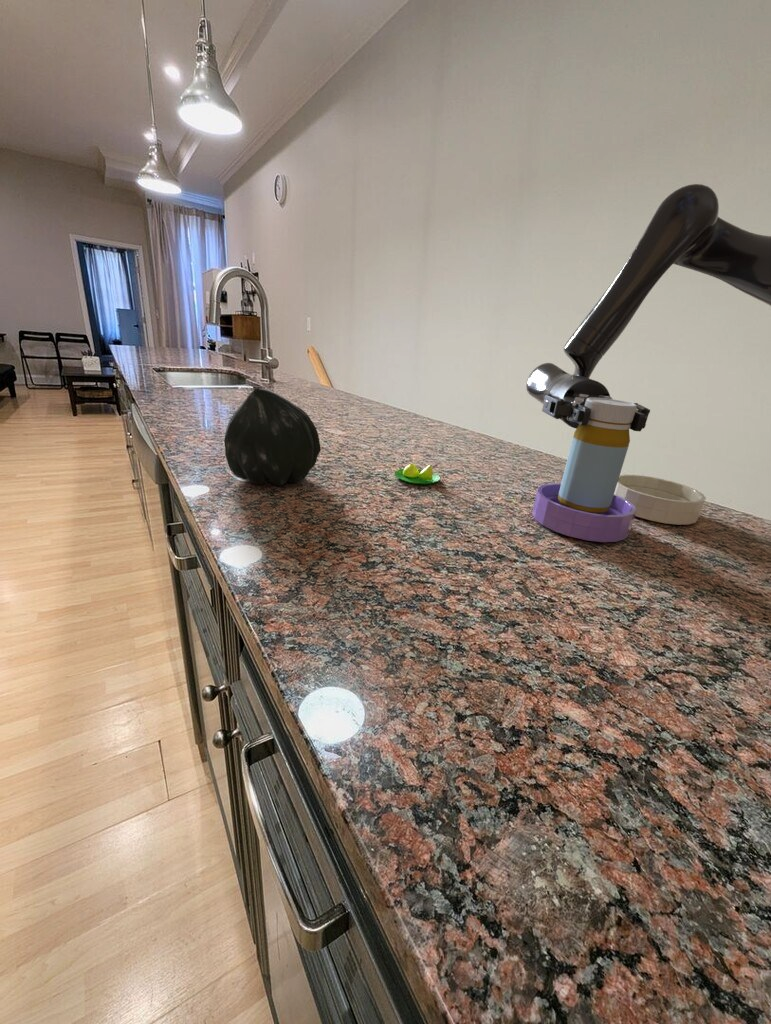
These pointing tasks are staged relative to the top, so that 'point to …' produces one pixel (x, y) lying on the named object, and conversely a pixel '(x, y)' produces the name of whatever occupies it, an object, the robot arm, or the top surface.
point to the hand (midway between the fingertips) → (613, 420)
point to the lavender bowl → (583, 517)
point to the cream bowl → (661, 499)
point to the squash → (270, 440)
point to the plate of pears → (417, 475)
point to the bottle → (597, 456)
